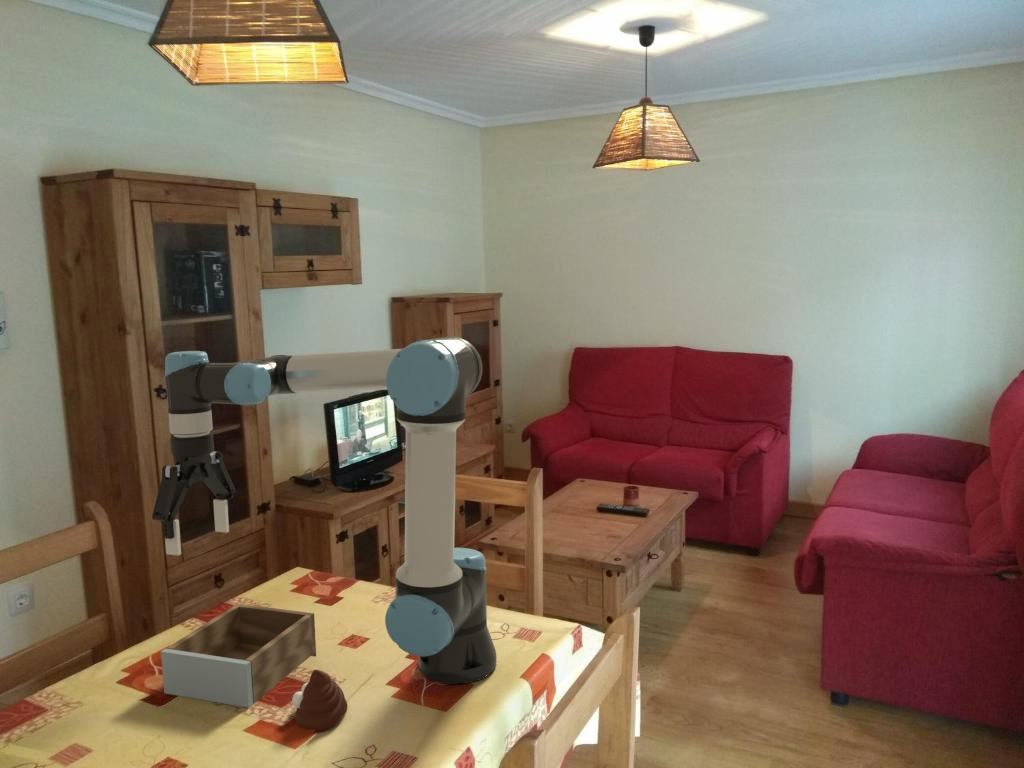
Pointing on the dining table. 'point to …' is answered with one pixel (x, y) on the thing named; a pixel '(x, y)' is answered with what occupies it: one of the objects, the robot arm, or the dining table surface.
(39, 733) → the dining table surface
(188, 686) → the door
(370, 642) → the dining table surface
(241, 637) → the box
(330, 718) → the poop emoji
